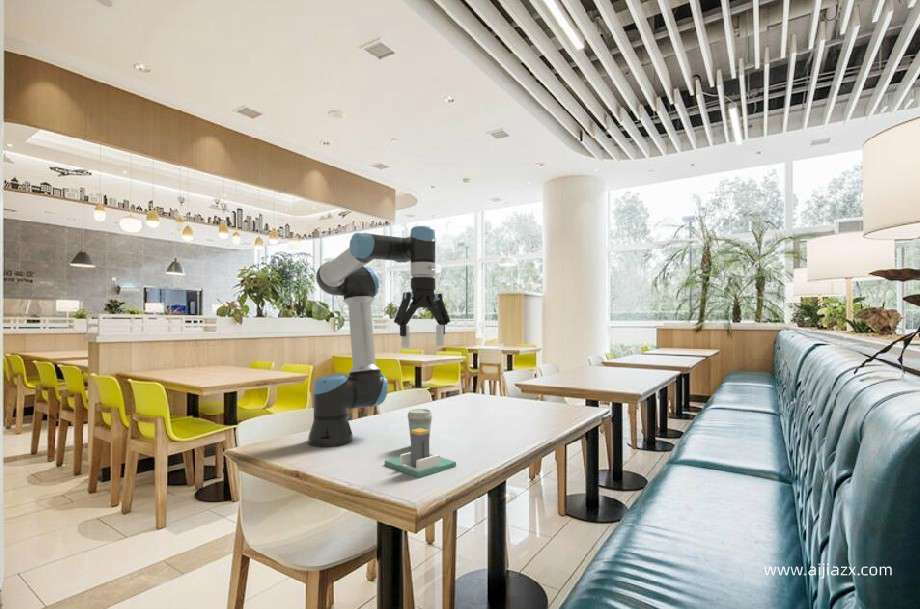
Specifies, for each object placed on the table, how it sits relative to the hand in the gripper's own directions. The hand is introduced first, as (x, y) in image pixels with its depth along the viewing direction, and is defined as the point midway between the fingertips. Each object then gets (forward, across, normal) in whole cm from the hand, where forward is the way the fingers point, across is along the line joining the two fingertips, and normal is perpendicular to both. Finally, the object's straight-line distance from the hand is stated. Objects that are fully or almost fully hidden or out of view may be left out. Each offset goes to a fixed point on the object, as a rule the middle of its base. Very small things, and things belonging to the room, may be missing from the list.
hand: (423, 346), depth 142 cm
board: (+35, -3, -2) cm, 35 cm away
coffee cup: (+35, +10, +14) cm, 39 cm away
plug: (+34, -6, -5) cm, 34 cm away
